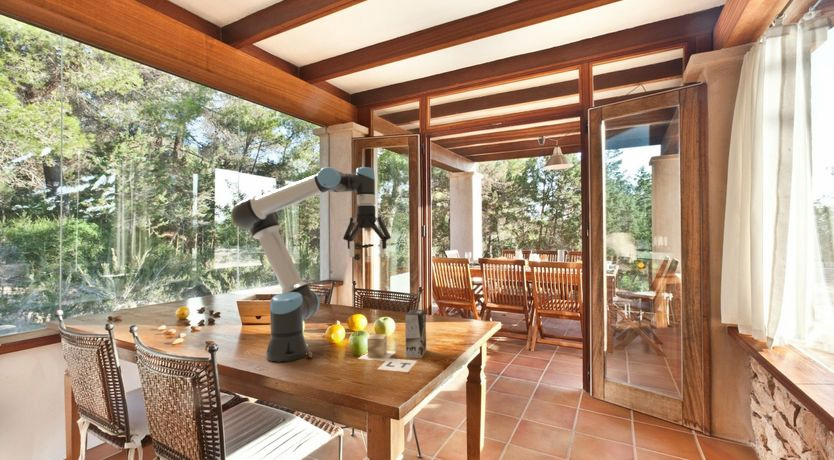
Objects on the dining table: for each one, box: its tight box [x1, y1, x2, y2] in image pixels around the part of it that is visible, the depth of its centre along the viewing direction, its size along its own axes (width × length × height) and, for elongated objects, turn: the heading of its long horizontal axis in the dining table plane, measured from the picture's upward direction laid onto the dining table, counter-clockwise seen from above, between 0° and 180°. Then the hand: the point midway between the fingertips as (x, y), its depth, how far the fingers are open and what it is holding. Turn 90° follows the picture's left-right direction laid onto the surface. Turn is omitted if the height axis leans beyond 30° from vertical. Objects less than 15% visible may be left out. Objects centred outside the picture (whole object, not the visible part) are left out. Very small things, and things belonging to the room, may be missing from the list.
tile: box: [377, 357, 418, 373], centre depth 130 cm, size 11×11×1 cm
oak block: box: [366, 333, 388, 358], centre depth 141 cm, size 6×6×7 cm
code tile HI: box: [357, 350, 397, 362], centre depth 141 cm, size 11×11×1 cm
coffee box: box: [404, 309, 427, 359], centre depth 141 cm, size 9×6×16 cm
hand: (367, 257), depth 153 cm, fingers open, 13 cm apart
